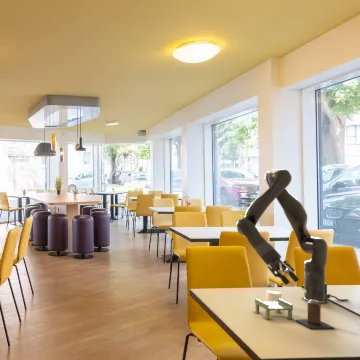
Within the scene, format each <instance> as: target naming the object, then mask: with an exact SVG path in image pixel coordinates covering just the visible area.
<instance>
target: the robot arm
mask: <svg viewBox="0 0 360 360" xmlns="http://www.w3.org/2000/svg"><path fill="white" fill-rule="evenodd" d="M292 177H293V176H292V174H291V172H290V171H289V170H288V169H281V168H279V169H278V168H277V169H269V170H267V171H266V172H265V174H264V182H265V183H266V185H267V187H268V188H267V189H266V190H265V191H264V192H262V194H260V195H258V196H257V197H256V198H255V199H254V200H253V201H252V202H251V204H250V205H249V207H248V208H247V210H246V211H245V215H244V216H243V217H241V218H238V220H237V222H236V229H237V232H238V233H239V235H241V236H244V237H245V238H246V239H247V242H248V244H249V245H250V246H251V247H252V248H253V249H254V251H255V252H256V254H257V255H258V256H259V258H260V259H261V260H262V261H263V262H264V263H265V265H266V266H267V269H269V272H271V274H272V275H273V276H274V277H275V278H279V279H280V280H281V282H283V283H284V285H285V286H286V285H288V284H290V280H289V278H290V279H292V281H293V282H294V283H297V282H299V280H300V278H298V276H297V275H296V274H295V273H294V272H295V269H294V268H293V267H292V266H291V265H290V263H289V262H288V261H287V260H283V261H282V260H281V258H282V256H281V254H280V253H279V252H278V251H277V249H276V248H275V247H274V246H273V245H272V244H271V243H270V242H269V241H268V240H267V239H266V238H265V237H264V236H263V235H262V234H261V233H260V232H259V230H258V228H257V227H256V225H257V224H258V222H259V220H260V219H261V217H262V216H263V214H264V213H266V210H267V209H268V208H269V206H270V205H271V204H272V203H273V202H274V201H275V199H276V200H277V202H278V204H279V206H280V207H281V209H282V211H283V213H284V215H285V217H286V219H287V221H288V222H289V224H290V226H291V228H292V230H293V232H294V234H295V237H296V239H297V242H298V244H299V247H300V249H301V251H303V253H305V254H308V255H311V258H310V259H309V260H305V261H304V262H303V267H304V268H303V300H305V301H307V302H308V301H310V300H311V299H313V300H318V302H319V303H320V304H323V303H327V302H328V299H331V298H334V299H336V300H337V301H339V302H347V301H349V299H348V298H345V299H343V298H341V299H340V298H338V297H337V296H335V295H332V294H330V293H328V284H327V282H326V265H327V262H328V252H329V251H328V249H329V248H328V243H327V241H326V240H325V239H324V238H321V237H315V236H312V235H311V234H310V232H309V230H308V227H307V224H308V213H307V211H306V209H305V208H304V206H303V204H302V202H300V201H299V199H297V197H295V196H294V195H293V194H292V193H290V192H289V190H287V187H288V186H289V185H290V184H291V182H292ZM285 274H287V275H288V276H289V278H287V276H285Z"/></svg>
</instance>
